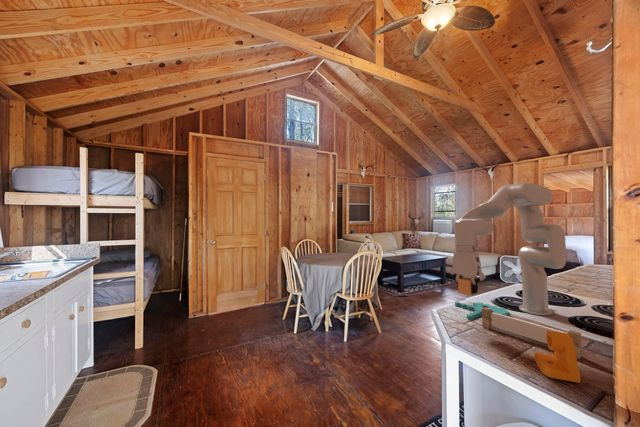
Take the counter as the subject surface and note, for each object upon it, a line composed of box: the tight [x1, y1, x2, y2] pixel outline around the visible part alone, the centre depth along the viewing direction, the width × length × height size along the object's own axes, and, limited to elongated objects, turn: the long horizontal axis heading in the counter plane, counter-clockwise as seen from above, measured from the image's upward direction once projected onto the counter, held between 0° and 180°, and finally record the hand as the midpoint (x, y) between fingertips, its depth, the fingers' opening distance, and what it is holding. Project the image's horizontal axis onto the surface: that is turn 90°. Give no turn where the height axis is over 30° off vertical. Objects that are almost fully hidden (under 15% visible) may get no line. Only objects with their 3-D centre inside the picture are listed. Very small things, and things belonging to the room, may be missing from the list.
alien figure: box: [454, 301, 511, 321], centre depth 125 cm, size 20×2×20 cm
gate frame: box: [481, 307, 583, 360], centre depth 97 cm, size 3×30×8 cm, turn 32°
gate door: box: [492, 312, 568, 343], centre depth 97 cm, size 2×24×6 cm, turn 31°
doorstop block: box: [457, 276, 477, 297], centre depth 109 cm, size 5×5×6 cm
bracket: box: [534, 331, 581, 384], centre depth 78 cm, size 11×7×12 cm, turn 156°
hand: (467, 291), depth 109 cm, fingers closed on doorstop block, 5 cm apart
